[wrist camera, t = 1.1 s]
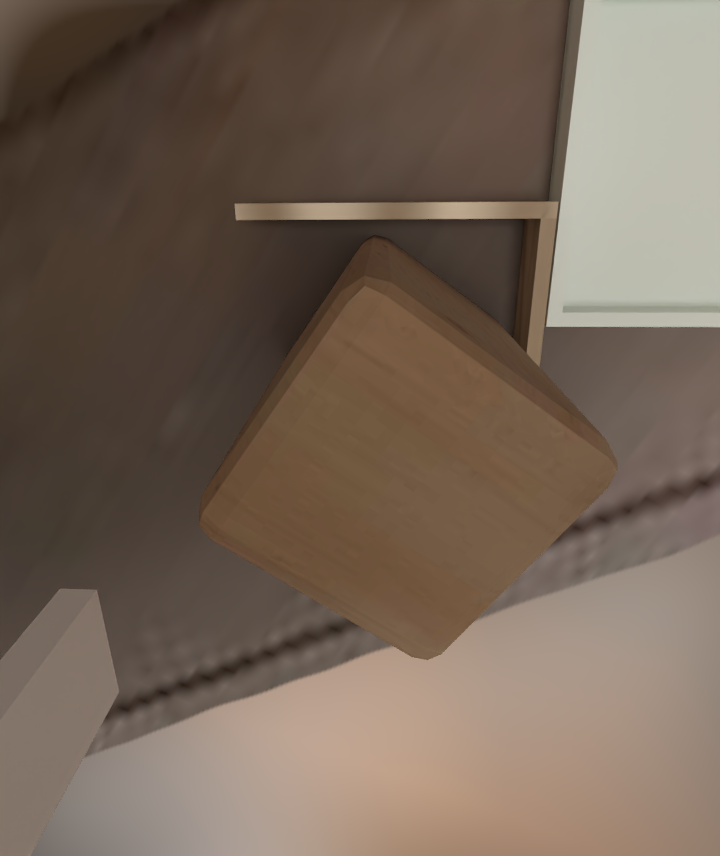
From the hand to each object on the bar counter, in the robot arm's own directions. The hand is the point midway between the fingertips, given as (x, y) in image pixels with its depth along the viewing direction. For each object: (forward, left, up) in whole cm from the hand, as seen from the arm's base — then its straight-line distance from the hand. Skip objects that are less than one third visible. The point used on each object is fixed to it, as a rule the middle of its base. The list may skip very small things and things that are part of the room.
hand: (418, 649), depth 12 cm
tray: (+17, +10, -26) cm, 32 cm away
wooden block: (0, 0, -26) cm, 26 cm away
